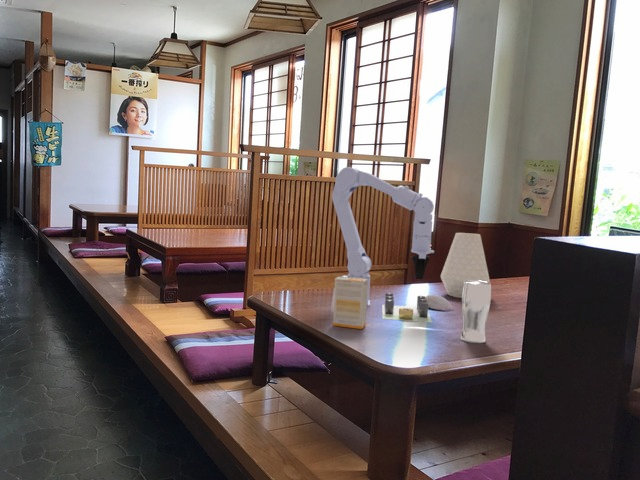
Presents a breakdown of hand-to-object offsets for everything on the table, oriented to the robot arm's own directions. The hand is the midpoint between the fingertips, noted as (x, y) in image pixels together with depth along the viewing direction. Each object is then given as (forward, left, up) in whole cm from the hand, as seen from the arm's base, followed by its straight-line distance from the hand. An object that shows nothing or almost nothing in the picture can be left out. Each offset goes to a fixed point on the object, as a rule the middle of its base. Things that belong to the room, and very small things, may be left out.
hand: (419, 278), depth 174 cm
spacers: (-4, -6, -9) cm, 12 cm away
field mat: (-4, -9, -10) cm, 14 cm away
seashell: (+7, +3, -10) cm, 12 cm away
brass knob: (-4, -16, -9) cm, 19 cm away
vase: (+19, +31, -10) cm, 38 cm away
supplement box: (-20, -28, -10) cm, 36 cm away
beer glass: (+12, -33, -10) cm, 37 cm away
